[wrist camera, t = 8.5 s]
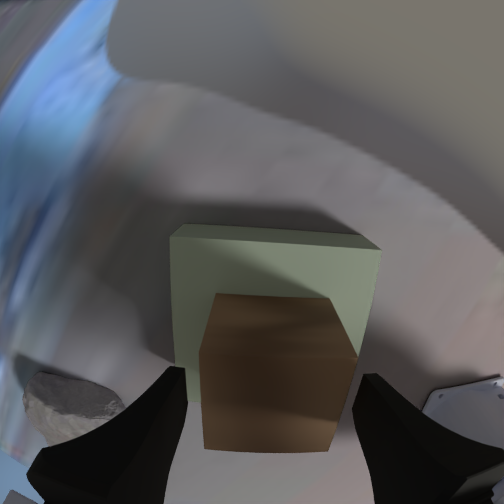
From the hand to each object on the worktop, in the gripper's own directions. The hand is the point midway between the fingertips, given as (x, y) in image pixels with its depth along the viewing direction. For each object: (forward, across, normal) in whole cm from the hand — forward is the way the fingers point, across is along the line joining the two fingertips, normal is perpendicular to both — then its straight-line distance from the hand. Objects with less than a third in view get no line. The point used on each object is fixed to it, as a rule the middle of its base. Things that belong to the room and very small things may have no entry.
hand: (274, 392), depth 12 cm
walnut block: (+4, 0, 0) cm, 4 cm away
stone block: (+8, +14, +14) cm, 21 cm away
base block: (+7, 0, 0) cm, 7 cm away
